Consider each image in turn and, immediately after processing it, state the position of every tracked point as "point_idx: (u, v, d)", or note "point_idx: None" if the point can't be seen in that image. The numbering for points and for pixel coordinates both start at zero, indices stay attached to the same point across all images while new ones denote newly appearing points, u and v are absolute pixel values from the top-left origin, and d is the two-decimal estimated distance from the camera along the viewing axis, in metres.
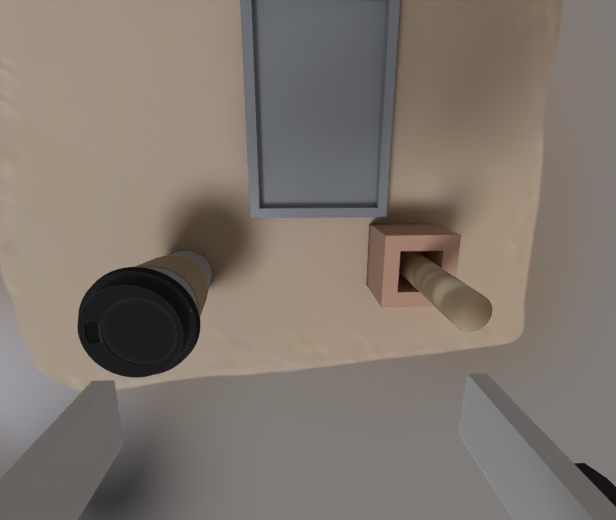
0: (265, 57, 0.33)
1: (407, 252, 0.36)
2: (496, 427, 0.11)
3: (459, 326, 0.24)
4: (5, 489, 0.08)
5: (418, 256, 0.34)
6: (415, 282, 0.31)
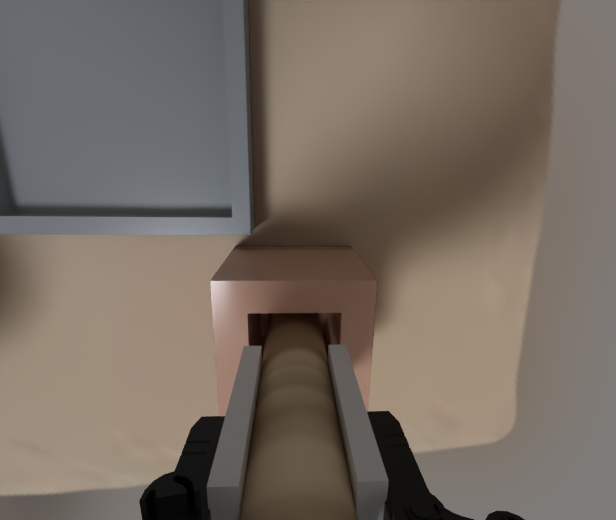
0: None
1: None
2: (333, 386, 0.13)
3: None
4: (236, 414, 0.10)
5: (292, 322, 0.16)
6: None
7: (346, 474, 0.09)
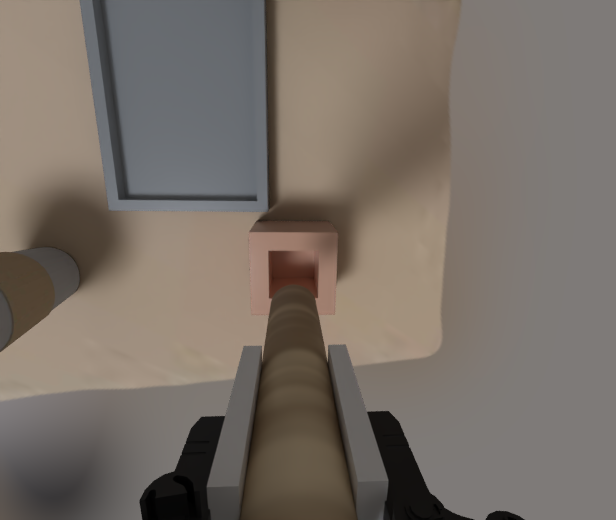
0: (115, 24, 0.29)
1: (284, 307, 0.18)
2: (333, 386, 0.13)
3: None
4: (236, 414, 0.10)
5: (292, 322, 0.16)
6: None
7: (346, 474, 0.09)
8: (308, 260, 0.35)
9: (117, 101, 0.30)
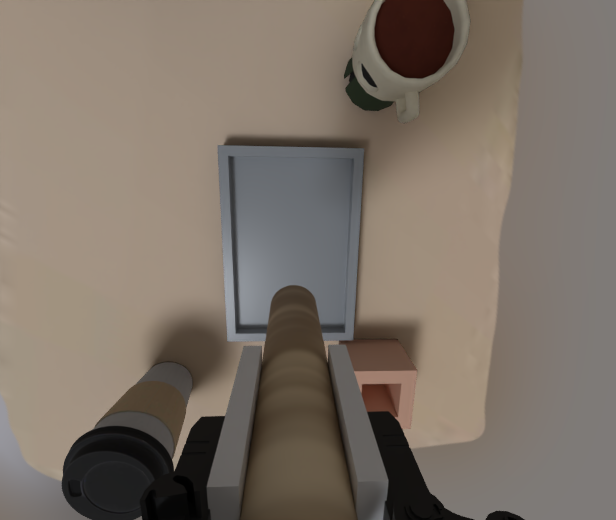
0: (241, 204, 0.36)
1: (284, 308, 0.18)
2: (333, 386, 0.13)
3: None
4: (236, 414, 0.10)
5: (292, 323, 0.16)
6: None
7: (346, 476, 0.09)
8: None
9: (237, 258, 0.38)
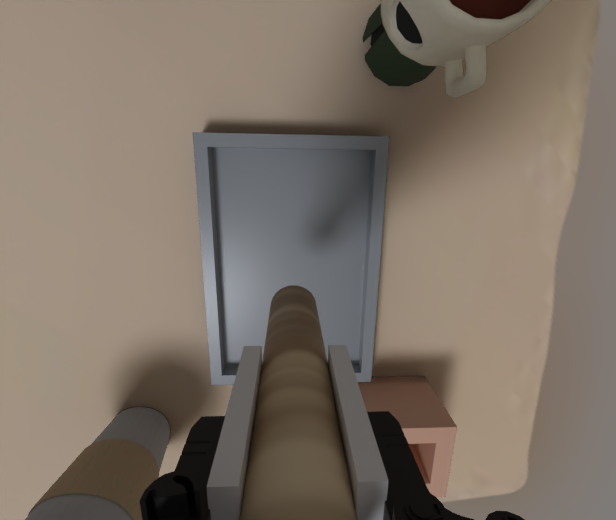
0: (227, 211, 0.28)
1: (284, 308, 0.18)
2: (333, 386, 0.13)
3: None
4: (236, 414, 0.10)
5: (292, 323, 0.16)
6: None
7: (346, 477, 0.09)
8: None
9: (223, 280, 0.29)
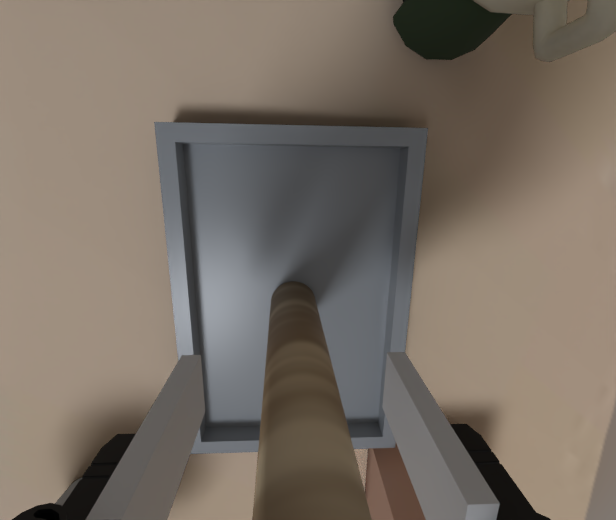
0: (206, 229, 0.21)
1: (285, 302, 0.19)
2: (401, 396, 0.12)
3: None
4: (148, 433, 0.09)
5: (294, 316, 0.17)
6: (264, 385, 0.14)
7: (352, 452, 0.10)
8: None
9: (202, 319, 0.22)
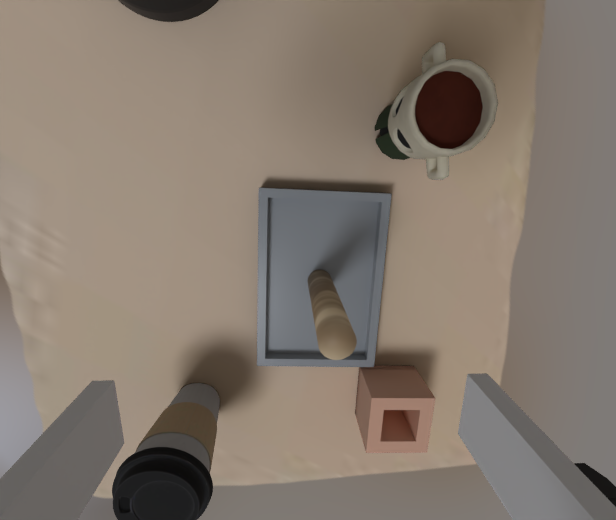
0: (276, 240, 0.39)
1: (318, 278, 0.37)
2: (496, 427, 0.11)
3: (326, 354, 0.26)
4: (5, 489, 0.08)
5: (323, 282, 0.35)
6: None
7: None
8: None
9: (269, 288, 0.41)
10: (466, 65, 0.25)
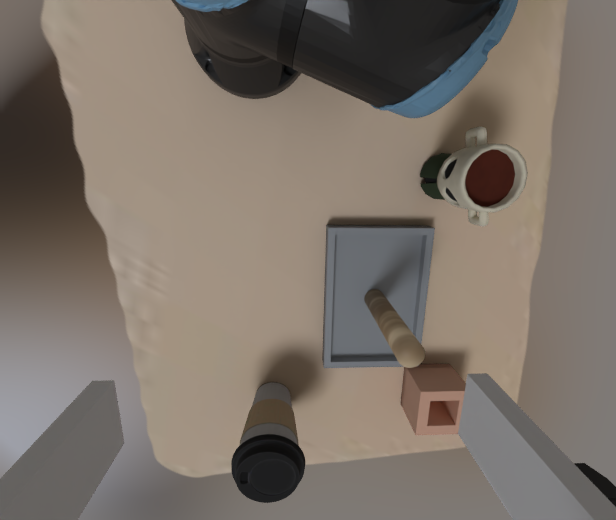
0: (339, 266, 0.49)
1: (376, 298, 0.46)
2: (496, 427, 0.11)
3: (402, 364, 0.35)
4: (5, 489, 0.08)
5: (383, 303, 0.44)
6: (378, 324, 0.42)
7: None
8: None
9: (333, 305, 0.50)
10: (504, 148, 0.34)
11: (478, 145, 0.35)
